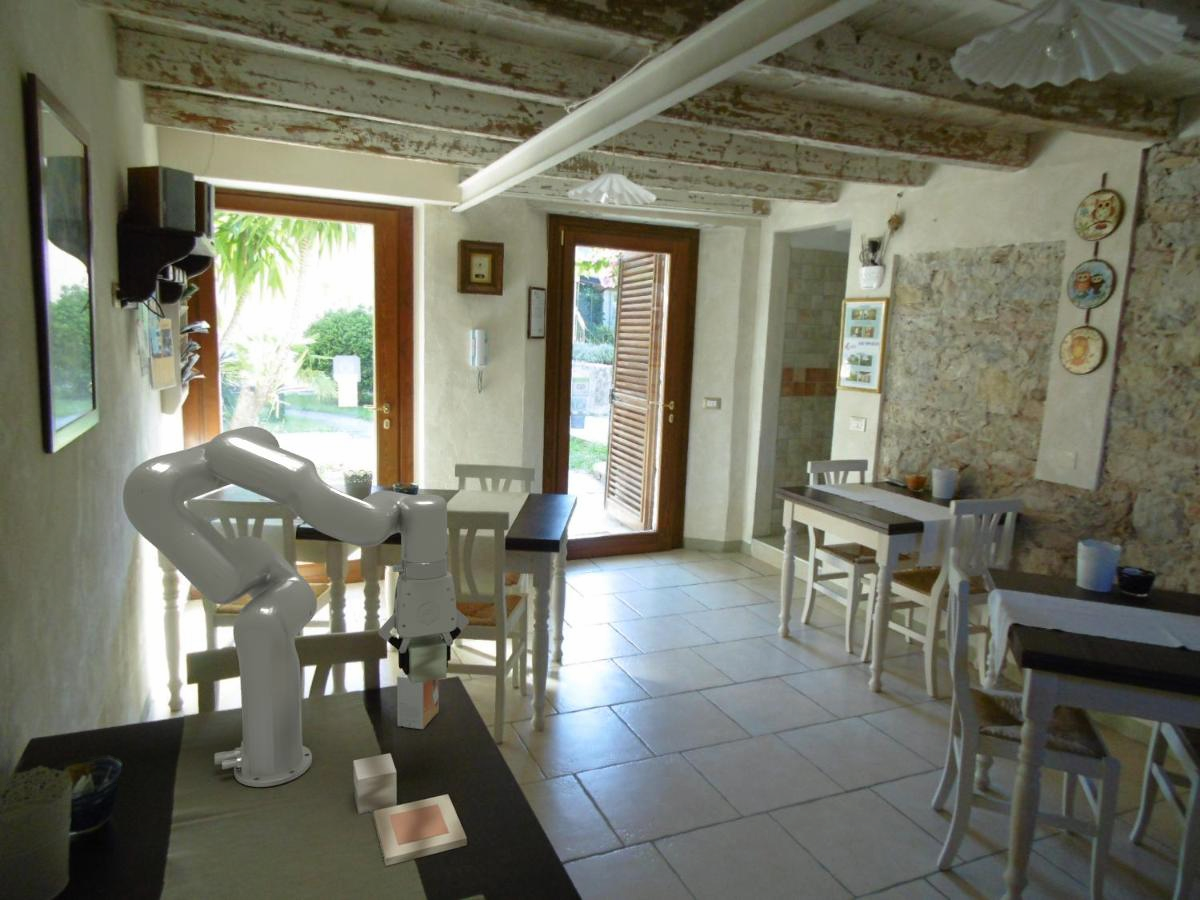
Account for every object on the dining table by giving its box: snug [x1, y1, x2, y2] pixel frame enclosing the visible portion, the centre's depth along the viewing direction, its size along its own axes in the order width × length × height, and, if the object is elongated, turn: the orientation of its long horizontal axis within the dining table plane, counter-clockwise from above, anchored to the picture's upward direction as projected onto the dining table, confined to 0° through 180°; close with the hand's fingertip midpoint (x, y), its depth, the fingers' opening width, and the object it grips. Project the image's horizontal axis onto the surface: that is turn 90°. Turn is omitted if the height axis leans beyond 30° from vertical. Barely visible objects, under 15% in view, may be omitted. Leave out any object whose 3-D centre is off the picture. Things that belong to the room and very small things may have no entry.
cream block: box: [353, 752, 398, 815], centre depth 124 cm, size 6×6×6 cm
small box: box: [396, 671, 440, 730], centre depth 150 cm, size 8×6×10 cm
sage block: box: [407, 634, 448, 684], centre depth 129 cm, size 6×6×6 cm
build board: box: [372, 793, 468, 867], centre depth 116 cm, size 12×12×1 cm
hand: (424, 667), depth 130 cm, fingers closed on sage block, 6 cm apart
